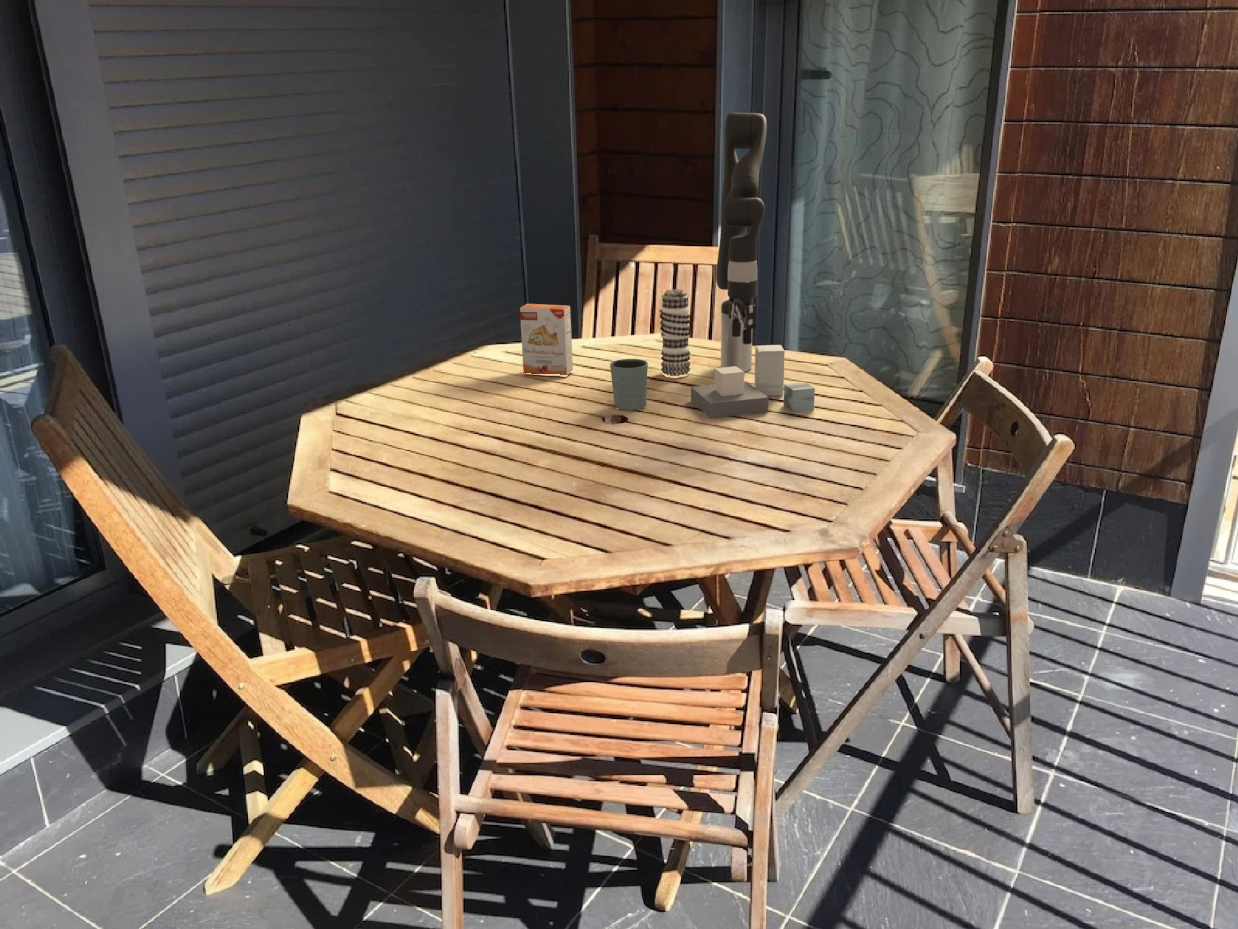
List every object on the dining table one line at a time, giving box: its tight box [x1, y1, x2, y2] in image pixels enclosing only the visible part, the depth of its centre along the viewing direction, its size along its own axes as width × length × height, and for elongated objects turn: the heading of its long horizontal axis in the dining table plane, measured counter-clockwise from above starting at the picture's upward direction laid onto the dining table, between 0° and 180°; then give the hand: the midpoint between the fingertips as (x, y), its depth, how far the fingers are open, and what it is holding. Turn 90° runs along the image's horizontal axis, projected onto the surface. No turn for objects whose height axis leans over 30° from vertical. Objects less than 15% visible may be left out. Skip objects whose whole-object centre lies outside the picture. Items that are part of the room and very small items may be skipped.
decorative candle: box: [658, 288, 692, 376], centre depth 304 cm, size 9×9×25 cm
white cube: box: [714, 366, 745, 396], centre depth 275 cm, size 6×6×6 cm
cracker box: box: [519, 303, 574, 375], centre depth 308 cm, size 14×6×21 cm, turn 73°
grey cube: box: [783, 381, 816, 413], centre depth 274 cm, size 6×6×6 cm
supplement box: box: [754, 344, 786, 397], centre depth 287 cm, size 7×7×13 cm
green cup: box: [609, 358, 649, 412], centre depth 278 cm, size 10×10×12 cm
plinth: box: [690, 381, 770, 419], centre depth 276 cm, size 16×16×4 cm
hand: (741, 340), depth 270 cm, fingers open, 8 cm apart
